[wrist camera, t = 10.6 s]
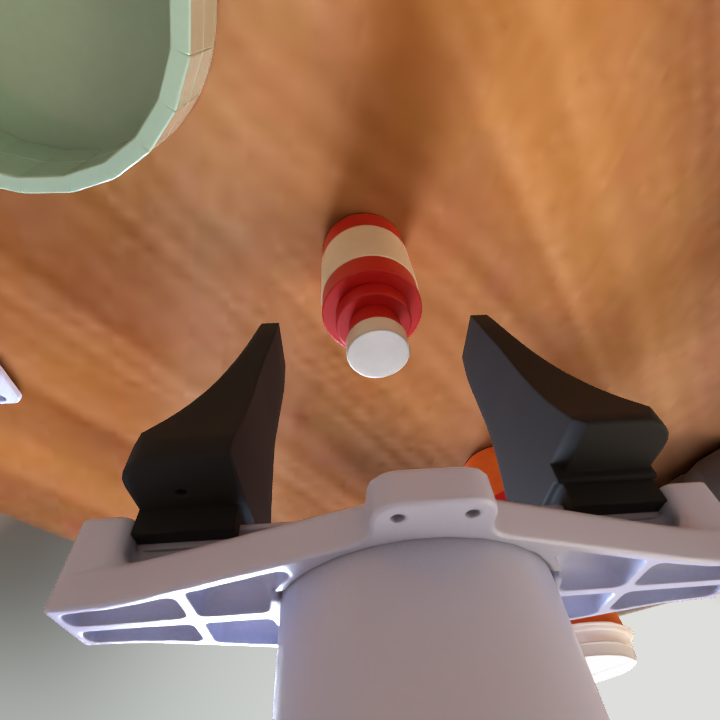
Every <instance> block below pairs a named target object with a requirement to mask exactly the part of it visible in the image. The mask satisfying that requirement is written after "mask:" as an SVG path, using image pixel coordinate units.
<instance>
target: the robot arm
mask: <svg viewBox="0 0 720 720" xmlns="http://www.w3.org/2000/svg"><path fill="white" fill-rule="evenodd" d="M462 358H463V363H464V367H465V371H466V375H467V379H468V381H469V384H470V387H471V389H472V391H473V394H474V396H475V399H476V401H477V404H478V406H479V408H480V411H481V413H482V416H483V418H484V420H485V423H486V425H487V428H488V431H489V434H490V437H491V440H492V444H493V448H494V451H495V455H496V458H497V462H498V466H499V470H500V474H501V478H502V482H503V487H504V491H505V496H506V500H507V501H503V500H496V499H495V497H494V494H493V491H492V488H491V485H490V482H489V479H488V476H487V474H485V473H484V472H482V471H481V470H479V469H478V468H473V467H464V466H459V467H442V468H425V469H407V470H395V471H390V472H385V473H382V474H380V475H379V476H377V477H376V478H374V479H372V480H371V481H370V483H369V485H368V487H367V489H366V501H365V504H361V505H357V506H353V507H350V508H346V509H342V510H338V511H334V512H330V513H326V514H323V515H319V516H315V517H311V518H307V519H303V520H299V521H296V522H280V523H271V504H272V482H273V463H274V448H275V439H276V433H277V427H278V421H279V416H280V410H281V404H282V399H283V393H284V383H285V360H284V354H283V347H282V341H281V334H280V327H279V323H266V324H261V325H260V327H259V328H258V330H257V331H256V333H255V334H254V336H253V337H252V339H251V340H250V342H249V343H248V345H247V346H246V347H245V349H244V350H243V351H242V353H241V354H240V355H239V357H238V358H237V359H236V361H235V362H234V363H233V364H232V365H231V366H230V368H229V369H228V370H227V371H226V372H225V373H224V374H223V375H222V376H221V378H220V379H219V380H218V381H217V382H216V383H215V384H213V385H212V386H211V387H210V388H209V389H208V390H207V391H206V392H205V393H203V394H202V395H201V396H200V397H198V398H197V399H196V400H195V401H193V402H192V403H191V404H189V405H188V406H186V407H185V408H184V409H182V410H181V411H179V412H178V413H176V414H175V415H173V416H171V417H170V418H168V419H167V420H165V421H163V422H161V423H159V424H158V425H156V426H154V427H152V428H150V429H149V430H147V431H145V432H143V433H141V435H140V437H139V439H138V440H137V442H136V444H135V445H134V447H133V449H132V452H131V454H130V456H129V459H128V461H127V463H126V466H125V468H124V470H123V475H122V480H123V483H124V485H125V487H126V489H127V490H128V492H129V493H130V495H131V497H132V498H133V500H134V501H135V503H136V504H137V506H138V508H139V509H140V510H139V513H138V516H137V518H136V521H134V520H133V519H130V518H124V517H118V518H102V519H88V520H86V521H84V523H83V525H82V527H81V530H80V532H79V534H78V536H77V538H76V540H75V543H74V545H73V547H72V549H71V551H70V554H69V556H68V558H67V560H66V562H65V564H64V567H63V569H62V571H61V573H60V575H59V577H58V580H57V582H56V584H55V586H54V588H53V590H52V593H51V595H50V597H49V599H48V601H47V604H46V606H45V608H44V612H45V614H46V615H48V616H49V617H50V618H52V619H53V620H54V621H56V622H57V623H58V624H59V625H61V626H62V627H63V628H64V629H66V630H67V631H68V632H70V633H71V634H72V635H74V636H75V637H76V638H77V639H79V640H80V641H81V642H83V643H84V644H85V645H97V644H115V643H187V644H214V645H240V646H267V647H269V646H270V647H278V648H277V662H276V676H275V690H274V704H273V720H609V717H608V714H607V712H606V709H605V707H604V704H603V702H602V700H601V697H600V695H599V692H598V689H597V687H596V684H595V682H594V679H593V677H592V674H591V672H590V669H589V667H588V664H587V662H586V659H585V657H584V654H583V652H582V649H581V647H580V644H579V642H578V639H577V637H576V634H575V631H574V629H573V626H572V624H571V621H570V620H575V619H580V618H585V617H590V616H596V615H601V614H606V613H611V612H617V611H622V610H627V609H633V608H638V607H644V606H650V605H656V604H663V603H670V602H677V601H685V600H694V599H695V600H696V599H706V598H714V597H716V596H718V595H719V594H720V502H719V501H718V500H717V498H716V497H715V496H714V495H713V493H712V492H711V491H710V490H709V488H708V487H707V486H706V485H705V483H703V482H691V483H675V484H668V485H665V486H662V487H660V488H659V487H658V486H657V485H656V483H655V482H654V480H653V479H655V478H656V477H657V475H656V472H655V471H654V469H653V468H652V467H651V464H652V463H653V461H654V460H655V459H656V457H657V456H658V454H659V453H660V452H661V450H662V449H663V448H664V446H665V444H666V442H667V440H668V434H669V432H668V430H667V428H666V426H665V425H664V424H663V422H662V421H661V420H660V419H659V417H658V416H657V415H656V414H655V412H654V411H653V410H652V409H651V408H650V407H649V406H646V405H643V404H640V403H636V402H633V401H630V400H627V399H624V398H621V397H618V396H616V395H613V394H611V393H608V392H606V391H603V390H601V389H598V388H596V387H594V386H591V385H589V384H587V383H585V382H583V381H581V380H579V379H577V378H575V377H573V376H571V375H569V374H567V373H565V372H564V371H562V370H560V369H559V368H557V367H555V366H554V365H552V364H550V363H549V362H547V361H546V360H544V359H543V358H541V357H540V356H538V355H537V354H535V353H534V352H533V351H531V350H530V349H528V348H527V347H526V346H525V345H523V344H522V343H521V342H519V341H518V340H517V339H516V338H514V337H513V336H512V335H511V334H509V333H508V332H507V331H506V330H505V329H503V328H502V327H501V326H500V325H499V324H497V323H496V322H495V321H494V320H493V319H491V318H490V317H489V316H487V315H471V317H470V321H469V326H468V331H467V336H466V341H465V346H464V351H463V356H462ZM21 398H22V394H21V393H20V391H19V390H18V388H17V387H16V386H15V384H14V383H13V382H12V380H11V379H10V378H9V376H8V375H7V373H6V372H5V371H4V369H3V368H2V367H1V365H0V404H7V403H17V402H19V401H20V399H21Z"/></svg>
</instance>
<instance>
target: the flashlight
mask: <svg viewBox="0 0 720 720" xmlns="http://www.w3.org/2000/svg"><path fill="white" fill-rule="evenodd" d="M691 482H703V483H705V485H706V486H707V487H708V488H709V490H710V491H711V492H712V493H713V495H714V496H715V497H716V498H717V500H718V501H719V502H720V449H718V450H716V451H715V452H713V453H711V454H709V455H708V456H706V457H704V458H703V459H701V460H699V461H698V462H697V463H696V464H695V465H694V466H693V467H692V468H691V469H690V470H689V471H688V472H687V473H686V474H683V475H680V476H679V478H675V479H674V480H673V481H670V482H669V483H668V484H675V483H691Z"/></svg>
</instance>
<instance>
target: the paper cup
mask: <svg viewBox="0 0 720 720" xmlns="http://www.w3.org/2000/svg"><path fill="white" fill-rule="evenodd" d="M464 467H473V468H478V469H479V470H481V471H482V472H484V473H485V474H487V476H488V479H489V482H490V485H491V488H492V491H493V494H494V497H495V499H496V500H503V501H507V500H506V496H505V491H504V487H503V482H502V478H501V474H500V470H499V466H498V462H497V458H496V455H495V451H494V448H493V447H489V448H486V449H484V450H482V451H480V452H478V453H476V454H475V455H473V456H472V457H471V458H470V459H469V460H468V461H467V462H466V464H465V466H464ZM570 621H571V624H572V626H573V629H574V631H575V634H576V637H577V639H578V642H579V644H580V647H581V649H582V652H583V654H584V657H585V659H586V662H587V664H588V667H589V669H590V672H591V674H592V677H593V679H594V682H599V681H603V680H606V679H610V678H613V677H615V676H618V675H620V674H623V673H625V672H627V671H629V670H630V669H632V668H633V667H634V666H635V665H636V655H635V652H634V649H633V646H632V644H631V643H632V642H633V639H634V636H633V631H632V630H631V629H630V628H629V627H627V626H624V625H623V624H622V622H621V620H620V619H619V617H618V615H617V613H616V612H611V613H606V614H601V615H596V616H590V617H585V618H580V619H575V620H570Z"/></svg>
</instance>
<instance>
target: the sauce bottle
mask: <svg viewBox="0 0 720 720" xmlns="http://www.w3.org/2000/svg"><path fill="white" fill-rule="evenodd" d="M321 303H322V318H323V322H324V326H325V328H326V330H327V331H328V333H329V334H330V336H331V337H332V338H333V339H334V340H335V341H336V342H338V343H339V344H341V345H342V346H344V347H346V352H347V360H348V362H349V364H350V366H351V367H352V368H353V369H354V370H355V371H356V372H357V373H359V374H361V375H363V376H367V377H373V378H379V377H386V376H389V375H391V374H394V373H396V372H397V371H399V370H400V369H401V368H402V367H403V366H404V365H405V364H406V362H407V360H408V358H409V355H410V347H409V342H408V337H409V336H410V335H411V334H412V333H413V332H414V330H415V329H416V327H417V325H418V323H419V321H420V318H421V314H422V302H421V298H420V294H419V290H418V285H417V281H416V278H415V275H414V272H413V269H412V266H411V263H410V260H409V257H408V253H407V250H406V248H405V246H404V245H403V242H402V238H401V236H400V234H399V232H398V230H397V229H396V228H395V226H394V225H393V224H392V223H390V222H389V221H388V220H386V219H385V218H383V217H381V216H378V215H375V214H369V213H360V214H354V215H351V216H348V217H346V218H344V219H342V220H340V221H339V222H338V223H336V224H335V225H334V226H333V227H332V228H331V230H330V231H329V233H328V234H327V236H326V238H325V241H324V245H323V258H322V270H321Z"/></svg>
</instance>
